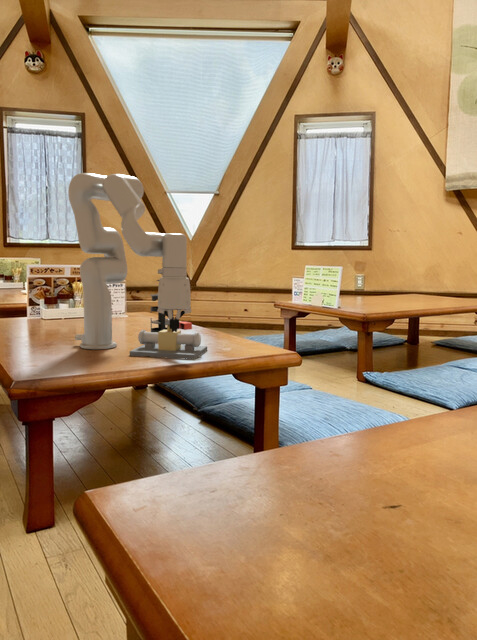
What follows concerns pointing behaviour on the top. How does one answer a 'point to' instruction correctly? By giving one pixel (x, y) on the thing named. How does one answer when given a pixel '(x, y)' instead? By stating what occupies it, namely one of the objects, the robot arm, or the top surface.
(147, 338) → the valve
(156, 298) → the french press
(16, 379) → the top surface
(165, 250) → the robot arm
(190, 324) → the lever
